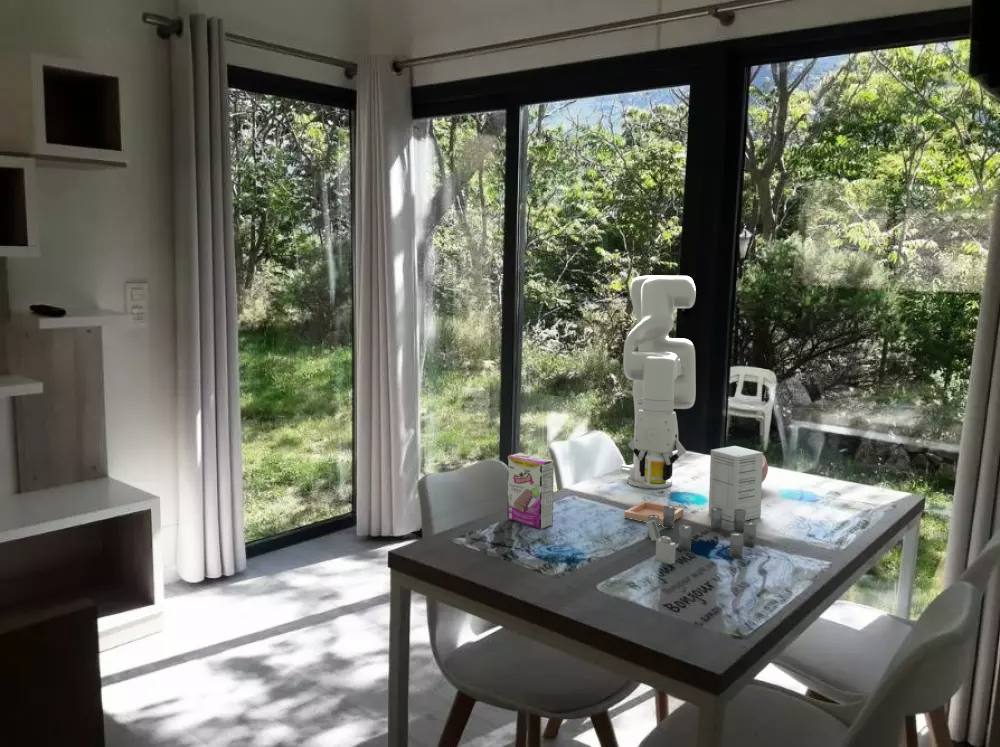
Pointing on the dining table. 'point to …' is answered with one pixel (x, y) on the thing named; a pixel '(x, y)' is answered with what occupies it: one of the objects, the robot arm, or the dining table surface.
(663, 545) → the lighter
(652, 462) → the supplement bottle
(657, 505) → the dish
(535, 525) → the candy bar box
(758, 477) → the supplement box
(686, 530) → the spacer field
